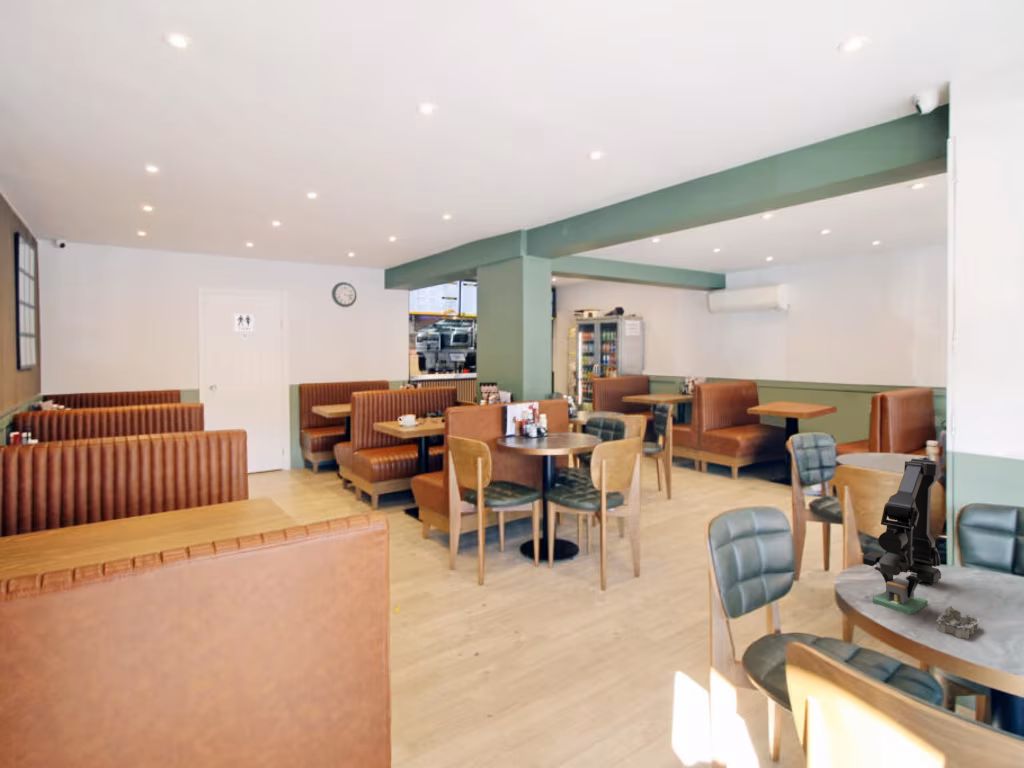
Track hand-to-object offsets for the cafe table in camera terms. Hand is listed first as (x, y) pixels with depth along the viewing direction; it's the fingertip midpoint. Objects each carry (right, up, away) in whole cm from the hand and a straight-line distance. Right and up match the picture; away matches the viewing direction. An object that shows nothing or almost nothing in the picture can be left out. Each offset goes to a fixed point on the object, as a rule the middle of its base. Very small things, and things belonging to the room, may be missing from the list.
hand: (899, 594), depth 166 cm
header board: (0, -3, 0) cm, 3 cm away
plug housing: (0, -1, 0) cm, 1 cm away
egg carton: (+5, -4, -15) cm, 17 cm away
